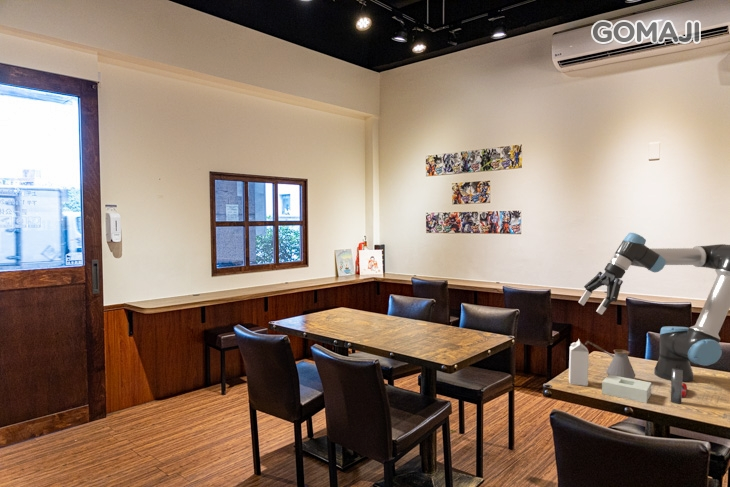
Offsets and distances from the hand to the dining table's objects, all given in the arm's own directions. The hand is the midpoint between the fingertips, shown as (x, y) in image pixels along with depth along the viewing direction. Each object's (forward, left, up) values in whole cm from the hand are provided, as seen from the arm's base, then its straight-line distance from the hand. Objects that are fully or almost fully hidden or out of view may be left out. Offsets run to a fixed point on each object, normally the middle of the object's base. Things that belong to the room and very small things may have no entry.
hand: (589, 308), depth 203 cm
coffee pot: (-20, -5, -34) cm, 40 cm away
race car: (-29, +21, -34) cm, 50 cm away
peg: (-17, +27, -34) cm, 47 cm away
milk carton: (0, -5, -34) cm, 34 cm away
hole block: (-7, +13, -34) cm, 37 cm away
